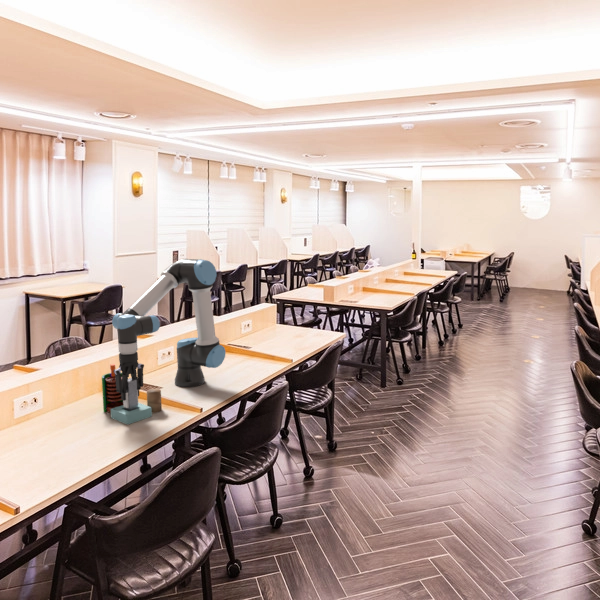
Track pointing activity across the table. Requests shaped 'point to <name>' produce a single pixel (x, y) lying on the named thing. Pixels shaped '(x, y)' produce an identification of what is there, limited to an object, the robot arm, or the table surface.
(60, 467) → the table surface
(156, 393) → the round dowel
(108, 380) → the motor
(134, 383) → the square bit
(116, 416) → the socket block
